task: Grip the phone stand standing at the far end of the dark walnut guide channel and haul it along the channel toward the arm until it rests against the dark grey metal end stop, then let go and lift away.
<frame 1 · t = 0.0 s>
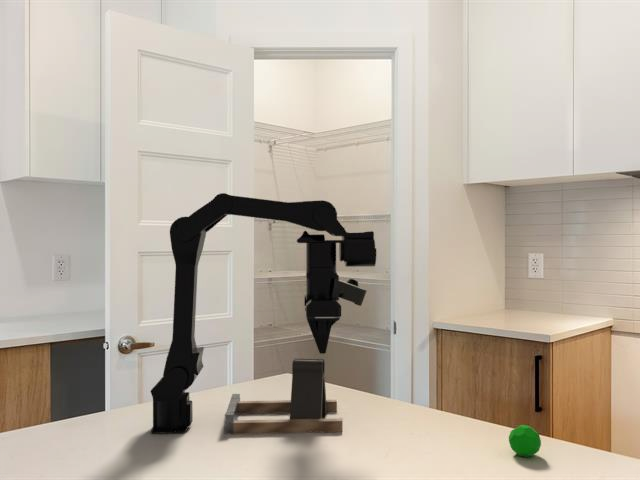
hand: (321, 348, 111), 15 cm above the countertop, fingers open, 9 cm apart
end stop: (233, 421, 114), on the countertop
phone stand: (308, 421, 114), on the countertop
guide track: (285, 420, 114), on the countertop
polyhedron: (524, 456, 96), on the countertop
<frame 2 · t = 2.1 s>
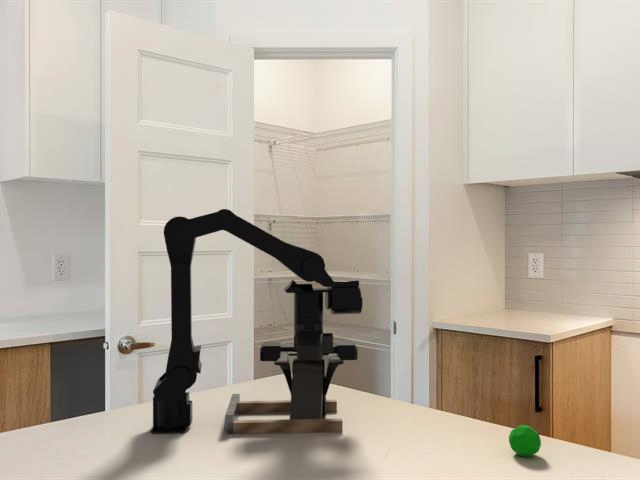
hand: (308, 394, 114), 5 cm above the countertop, fingers closed on phone stand, 6 cm apart
phone stand: (308, 421, 114), on the countertop, touching gripper
everything else where it was.
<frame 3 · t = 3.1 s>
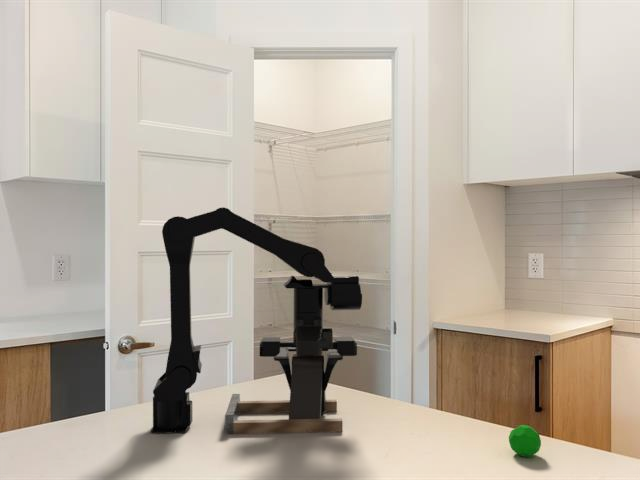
hand: (307, 390, 114), 6 cm above the countertop, fingers closed on phone stand, 6 cm apart
phone stand: (307, 417, 114), point 1 cm above the countertop, touching gripper
everything else where it was.
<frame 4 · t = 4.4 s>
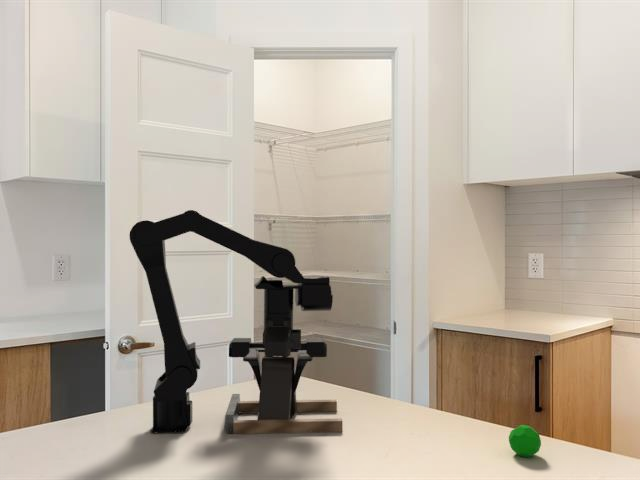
hand: (277, 391, 114), 6 cm above the countertop, fingers closed on phone stand, 6 cm apart
phone stand: (277, 419, 114), on the countertop, touching gripper
everything else where it was.
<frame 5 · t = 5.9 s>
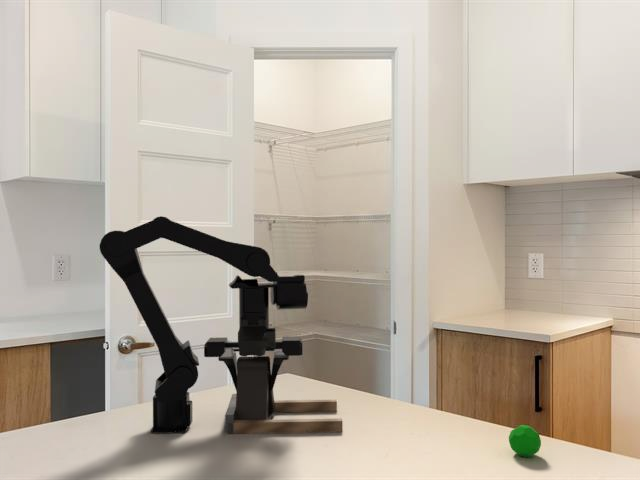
hand: (254, 390, 114), 6 cm above the countertop, fingers closed on phone stand, 6 cm apart
phone stand: (256, 419, 114), on the countertop, touching end stop, gripper
everything else where it was.
when the fingers open (6 cm above the countertop, at t = 6.8 s): phone stand stays where it is, on the countertop.
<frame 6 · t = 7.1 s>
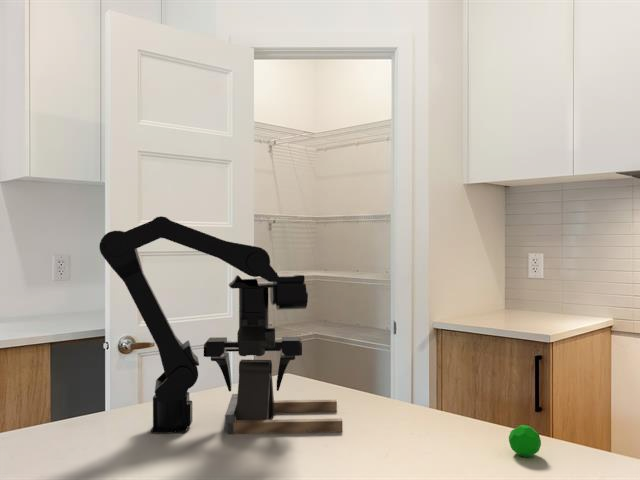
hand: (253, 390, 114), 6 cm above the countertop, fingers open, 9 cm apart
phone stand: (255, 422, 114), on the countertop
everything else where it was.
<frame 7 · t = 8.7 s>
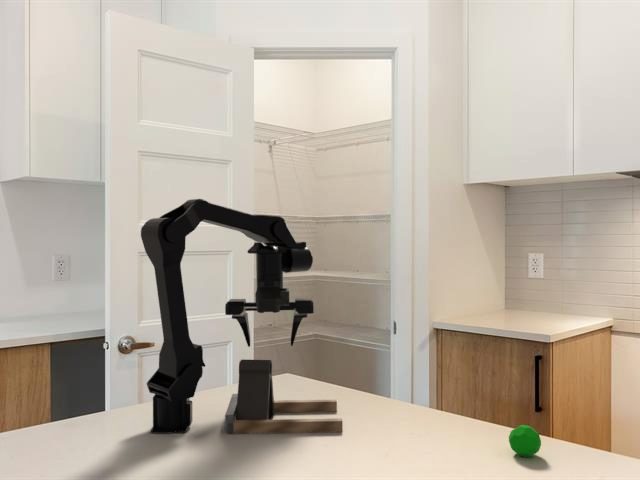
hand: (270, 346, 126), 12 cm above the countertop, fingers open, 9 cm apart
nothing on the countertop moved.
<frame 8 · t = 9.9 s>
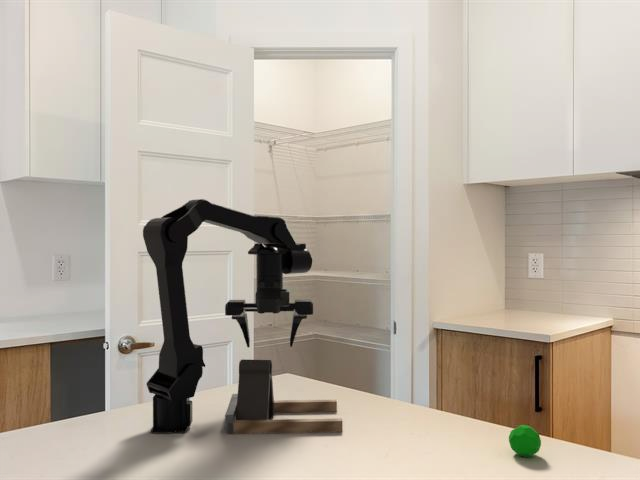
hand: (269, 346, 127), 12 cm above the countertop, fingers open, 9 cm apart
nothing on the countertop moved.
at the end: phone stand 0.2 cm from the target spot, on the countertop; phone stand tilted 0°; the gripper is holding nothing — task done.
